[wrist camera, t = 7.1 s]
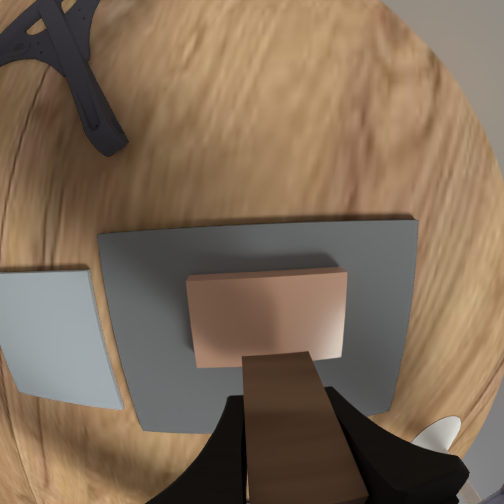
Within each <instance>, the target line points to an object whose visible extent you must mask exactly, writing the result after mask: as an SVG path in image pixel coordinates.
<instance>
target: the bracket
mask: <svg viewBox="0 0 504 504" xmlns="http://www.w3.org/2000/svg"><path fill="white" fill-rule="evenodd" d="M62 1H63V0H37V1H36V2H35V3H33V4H32V5H31V6H30V7H29V8H28V9H26V10H25V11H24V12H23V13H22V14H21V15H20V16H19V17H18V18H17V19H15V20H14V21H13V22H12V23H11V24H10V25H9V26H8V27H7V28H6V29H5V30H4V31H3V32H2V33H1V34H0V67H1V66H3V65H5V64H7V63H10V62H13V61H17V60H24V59H37V60H40V61H42V62H45V63H47V64H49V65H51V66H52V67H53V68H55V69H56V70H57V71H58V72H59V73H60V74H62V75H63V76H64V77H66V78H67V80H68V83H69V86H70V89H71V92H72V95H73V98H74V101H75V104H76V107H77V109H78V112H79V115H80V118H81V122H82V125H83V129H84V131H85V134H86V136H87V137H88V139H89V140H90V142H91V143H92V144H93V145H94V146H95V148H96V149H97V150H98V151H99V152H101V153H102V154H103V155H105V156H107V157H109V156H111V155H113V154H114V153H115V152H117V151H118V150H119V149H121V148H122V147H124V146H125V145H126V144H128V143H129V141H128V139H127V137H126V135H125V133H124V132H123V130H122V128H121V126H120V124H119V123H118V121H117V119H116V117H115V115H114V113H113V111H112V109H111V108H110V106H109V104H108V102H107V100H106V98H105V96H104V94H103V92H102V90H101V88H100V87H99V85H98V83H97V81H96V79H95V77H94V75H93V73H92V71H91V69H90V67H89V65H88V62H87V61H88V60H89V59H90V48H89V35H90V27H91V22H92V18H93V14H94V12H95V10H96V8H97V6H98V4H99V2H100V0H77V1H76V3H75V4H74V5H73V7H72V8H71V9H70V10H69V11H68V12H67V13H65V14H64V12H63V10H62V6H61V2H62ZM40 18H42V19H43V21H44V23H45V25H46V27H47V29H45V30H44V31H42V32H40V33H38V34H36V35H28V34H27V33H26V30H27V29H29V28H30V27H31V26H32V25H33V24H34V23H35V22H37V21H38V20H39V19H40Z"/></svg>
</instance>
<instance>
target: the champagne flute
mask: <svg viewBox="0 0 504 504" xmlns="http://www.w3.org/2000/svg"><path fill="white" fill-rule="evenodd" d="M460 425H461V421H460V419H459V418H458V417H456V416H449V417H446V418H443V419H441V420H439V421H437V422H435V423H433V424H432V425H430V426H429V427H427V428H426V429H425V430H423V431H422V432H421V433H420V434H419V435H418V436H417V437H416V438H415V439H414V440H413V441H412V442H411V443H412V444H414V445H417V446H420V447H423V448H426V449H429V450H432V451H436V452H440V453H445V454H450V453H449V452H448V451H447V450H448V449H449V447H450V445H451V444H452V442H453V440H454V438H455V437H456V435H457V433H458V431H459V429H460ZM459 492H460V493H461V495H462V497H463V498H464V500H465V501H466V503H467V504H477V503H479V502H481V501H482V500H481V498H480V497H479V495H478V494H477V492H476V491H475V489H474V488H473V486H472V485H471V483H470V482H469V481H468V479H467V481H466V483H465V484H464V485H463V487H462V488H461V489H460V491H459Z"/></svg>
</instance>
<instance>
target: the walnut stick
mask: <svg viewBox="0 0 504 504" xmlns="http://www.w3.org/2000/svg"><path fill="white" fill-rule="evenodd" d="M242 375H243V395H244V415H245V433H246V451H247V468H248V484H249V499H250V504H365V502H366V500H367V498H368V496H369V494H368V492H367V489H366V487H365V484H364V482H363V479H362V477H361V475H360V472H359V470H358V467H357V465H356V462H355V460H354V458H353V455H352V453H351V450H350V448H349V446H348V443H347V441H346V438H345V436H344V434H343V431H342V429H341V426H340V424H339V422H338V419H337V417H336V415H335V412H334V410H333V407H332V405H331V403H330V400H329V398H328V396H327V393H326V391H325V389H324V386H323V384H322V381H321V379H320V377H319V374H318V372H317V370H316V367H315V365H314V363H313V360H312V358H311V356H310V353H309V351H304V352H293V353H282V354H269V355H254V356H242Z"/></svg>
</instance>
